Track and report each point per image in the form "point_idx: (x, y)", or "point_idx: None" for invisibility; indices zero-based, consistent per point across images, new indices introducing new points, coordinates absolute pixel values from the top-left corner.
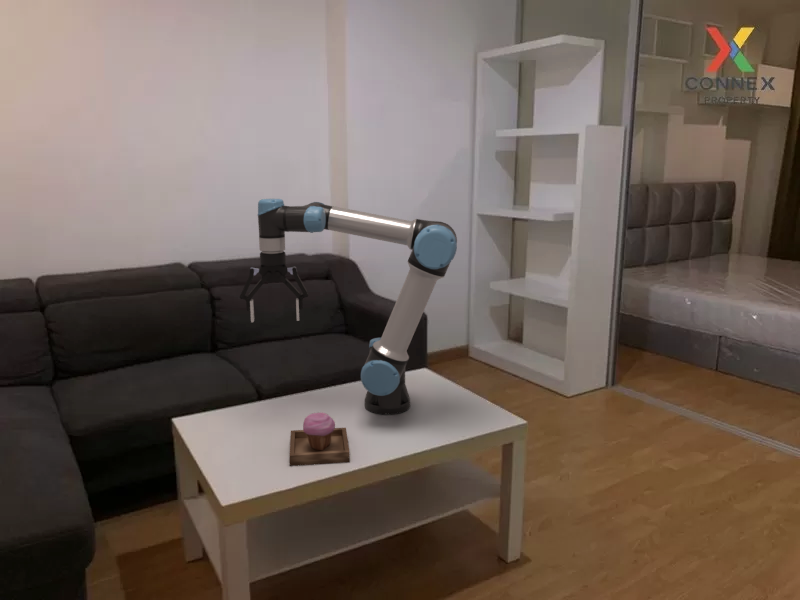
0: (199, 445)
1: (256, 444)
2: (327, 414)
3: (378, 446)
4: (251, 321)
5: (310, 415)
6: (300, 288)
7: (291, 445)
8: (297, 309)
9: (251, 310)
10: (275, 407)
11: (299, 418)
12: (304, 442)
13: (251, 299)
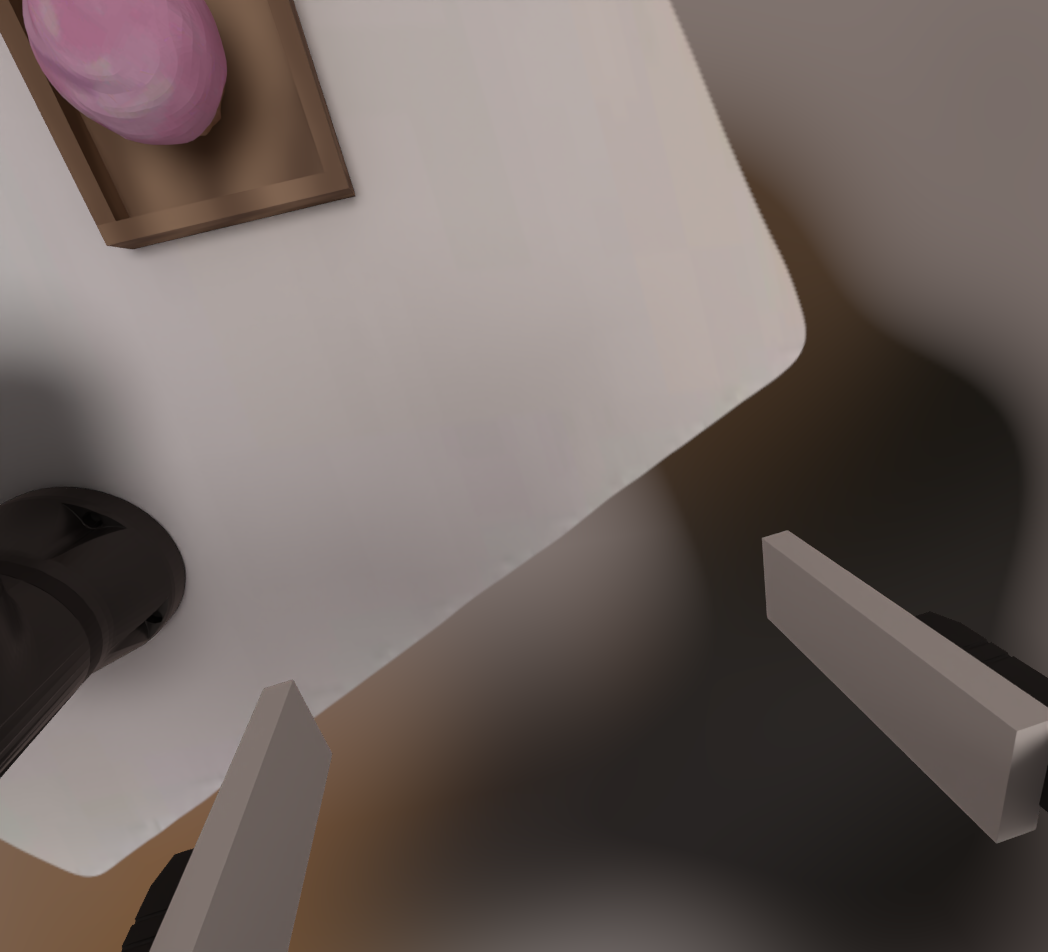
0: (689, 117)
1: (480, 142)
2: (59, 60)
3: None
4: (788, 534)
5: (148, 18)
6: None
7: (283, 7)
8: (225, 818)
9: (889, 612)
10: (513, 488)
11: (394, 407)
12: (274, 136)
13: (1024, 823)
